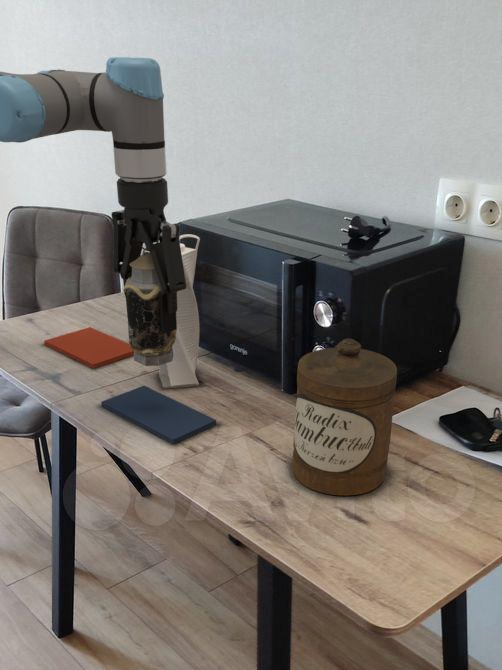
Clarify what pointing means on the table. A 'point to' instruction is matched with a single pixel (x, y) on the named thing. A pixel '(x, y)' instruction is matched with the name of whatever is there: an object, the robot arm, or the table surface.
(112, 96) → the robot arm
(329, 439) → the wooden container
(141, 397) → the mat blue
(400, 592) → the table surface
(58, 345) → the mat terracotta
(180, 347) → the skyscraper
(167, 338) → the lantern
